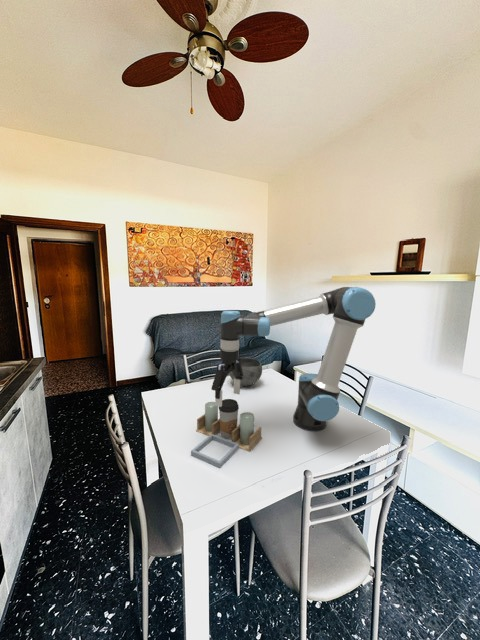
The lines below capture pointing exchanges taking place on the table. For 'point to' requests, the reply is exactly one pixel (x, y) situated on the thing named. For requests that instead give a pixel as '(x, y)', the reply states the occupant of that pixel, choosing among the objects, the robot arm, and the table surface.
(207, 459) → the tray
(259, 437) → the caddy
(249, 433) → the jar
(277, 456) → the table surface
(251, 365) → the bowl
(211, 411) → the jar
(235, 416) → the coffee cup
